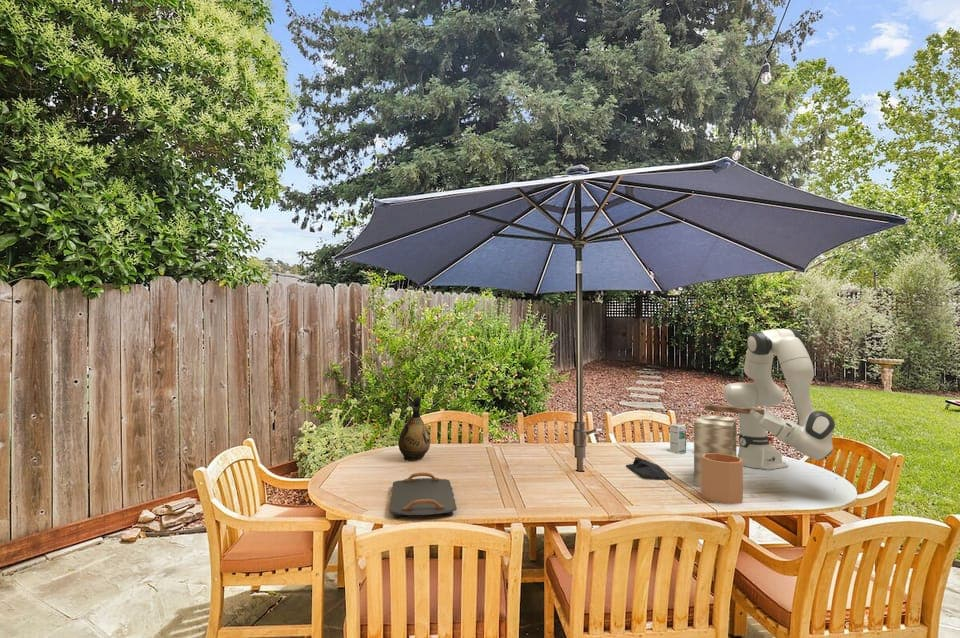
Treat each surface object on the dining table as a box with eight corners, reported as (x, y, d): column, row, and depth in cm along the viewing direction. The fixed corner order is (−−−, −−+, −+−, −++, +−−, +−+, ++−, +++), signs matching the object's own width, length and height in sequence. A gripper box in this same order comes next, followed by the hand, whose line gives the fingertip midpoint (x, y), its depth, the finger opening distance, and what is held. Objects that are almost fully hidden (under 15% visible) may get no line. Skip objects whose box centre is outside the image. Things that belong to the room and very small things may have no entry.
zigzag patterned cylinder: (736, 477, 215) (736, 417, 215) (731, 491, 196) (732, 426, 196) (701, 472, 222) (701, 414, 222) (693, 485, 203) (694, 422, 204)
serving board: (392, 486, 201) (393, 470, 201) (449, 484, 204) (449, 469, 204) (388, 523, 162) (388, 504, 162) (458, 520, 165) (458, 502, 166)
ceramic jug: (428, 463, 233) (428, 399, 233) (395, 462, 233) (396, 399, 233) (432, 454, 250) (432, 394, 250) (401, 453, 250) (402, 394, 250)
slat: (764, 413, 202) (764, 409, 202) (763, 415, 198) (763, 410, 198) (705, 408, 213) (705, 404, 213) (704, 410, 210) (704, 405, 210)
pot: (724, 489, 198) (724, 452, 199) (751, 501, 185) (751, 461, 185) (694, 492, 195) (694, 454, 195) (719, 504, 181) (719, 463, 182)
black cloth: (638, 480, 211) (638, 469, 211) (624, 466, 233) (624, 456, 233) (674, 481, 210) (674, 470, 210) (657, 466, 232) (657, 456, 232)
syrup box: (678, 454, 254) (678, 425, 254) (669, 451, 259) (669, 423, 260) (686, 452, 257) (686, 425, 257) (677, 450, 262) (677, 423, 262)
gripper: (789, 419, 204) (756, 400, 211) (789, 427, 187) (753, 406, 193) (780, 432, 206) (748, 412, 212) (780, 441, 188) (744, 419, 195)
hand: (750, 409), depth 203 cm, fingers closed on slat, 4 cm apart
